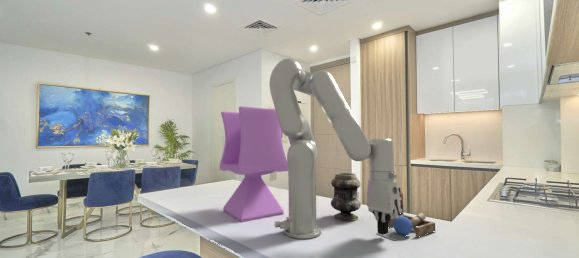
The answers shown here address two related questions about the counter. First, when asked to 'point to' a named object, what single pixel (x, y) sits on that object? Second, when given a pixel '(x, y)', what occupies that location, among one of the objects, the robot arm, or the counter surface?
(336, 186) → the apothecary jar
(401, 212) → the supplement bottle
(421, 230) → the wooden tray
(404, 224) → the ball
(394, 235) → the translucent flat square slab
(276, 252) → the counter surface
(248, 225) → the counter surface
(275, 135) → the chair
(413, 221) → the pin
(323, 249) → the counter surface
